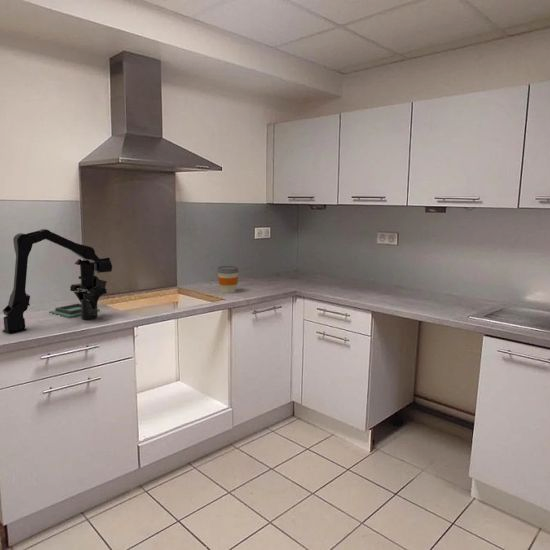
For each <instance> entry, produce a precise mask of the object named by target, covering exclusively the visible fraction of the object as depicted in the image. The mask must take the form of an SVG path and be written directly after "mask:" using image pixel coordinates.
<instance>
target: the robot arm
mask: <svg viewBox="0 0 550 550" xmlns="http://www.w3.org/2000/svg"><path fill="white" fill-rule="evenodd" d="M12 239H13V240H12V241H13V249H14V251H15V252H14V253H15V264H14V265H15V266H14V278H13V279H14V280H13V287H12V288H13V289H12V291H11V294H10V295H9V299H8V304H7V305H6V307H4V309H3V310H2V313H3V314H4V316H3V327H4V329H2V332H3V333H7V334H15V333H20V332H24V331H27V328H26V319H25V317H24V313H25V312H26V311H27V310H28V308H29V307H30V306H31V305H30V304H31V303H30V300H31V295H30V294H27V292H26V287H27V286H26V285H27V272H28V263H29V262H28V260H29V256H30V253H31V251H32V248H33V245H34V244H37V243H40V242H42V241H44V240H46V241H49V242H51V243H53V244H56V245H58V246H60V247H62V248H65V249H67V250H69V251H70V252H72V253H74V254H75V255H77V256H78V257H80V258H78V259H77V260H76V261H75V262H74V265H77V266H79V267H80V268H79V269H80V271H79V272H80V276H79V275H78V279H79V280H80V283H74V284H71V285H70V291H71V292H73V294H75V296H76V297H77V299H78V300H79V302H80V303H81V300H82V298H84V297H83V292H87V291H89V292H90V294H91V295H88V296H89V299H90V302H91V306H92V308H93V309H95V308H96V305H97V306H98V301H99V299H100V297H102V296H104V295H105V294H106V295H107V293H108V292H107V289H108V288H106V286H107V282H108V281H107V280H102V279H99V277H98V276H97V275H95V272H96V273H97V274H101V273H102V274H103V273H112V270H113V264H112V262H111V261H112V260H111V258H110V257H107V256H106V257H102V258H101V257H98V255H97V254H96V251H95V248H93V247H92V246H90V245H89V246H88V245H85V244H81V243H77V242H74V241H72V240H70V239H68V238H66V237H63V236H61V235H59V234H56V233H55V232H52V231H51V230H49V229H46V228H41V229H40V230H36V231H32V232H29V233H21V232H19V233H17V234H15V235H14V236H13V238H12ZM83 259H84V260H83Z"/></svg>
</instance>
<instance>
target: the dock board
mask: <svg viewBox="0 0 550 550" xmlns="http://www.w3.org/2000/svg"><path fill="white" fill-rule="evenodd" d="M97 309H98V311H99V312H101V309H99V308H97ZM50 313H52V314H51V315H54V314H56V315H55V316H58V315H60V316H59V317H62V316H63V317H62V318H66V317H67V318H66V319H73V318H77V317H76V316H78V317H81V316H80V315H81V303H79V302H78V303H74V304H70V305H63V306H58V307H55V309H54V310H49V312H48V314H50ZM72 317H73V318H72Z"/></svg>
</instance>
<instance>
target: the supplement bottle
mask: <svg viewBox="0 0 550 550" xmlns="http://www.w3.org/2000/svg"><path fill="white" fill-rule="evenodd" d="M88 295H91V294H90V292H89V291H87V292H83V297H84V298H82V300H81V302H80V304H81V316H80V317H81V319H82V320H86V321H89V320H90V321H91V319H92V320H95V319H97V318H98V314H99V312H98V309H99V308H98V304H97V305H96V308H95V309H93V308H92V306H91V302H90V299H89V296H88Z"/></svg>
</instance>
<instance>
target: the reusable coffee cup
mask: <svg viewBox="0 0 550 550" xmlns="http://www.w3.org/2000/svg"><path fill="white" fill-rule="evenodd" d="M217 273H218V274H217V275H218V277H217V279H218V285H219V287H220V293H222V294H235V293H236V292H237V285H238V280H239V266H234V265H233V266H232V265H225V266H224V265H223V266H218V267H217Z"/></svg>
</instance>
